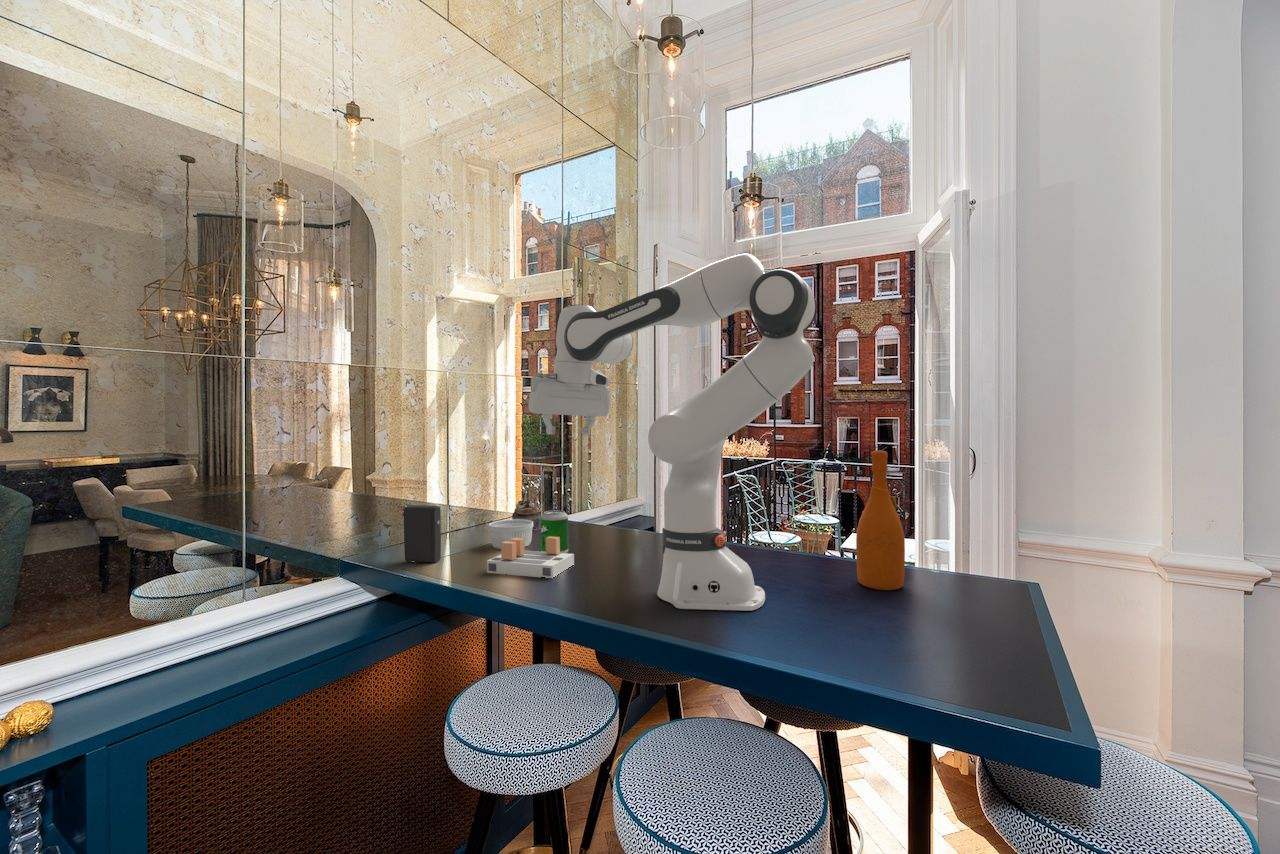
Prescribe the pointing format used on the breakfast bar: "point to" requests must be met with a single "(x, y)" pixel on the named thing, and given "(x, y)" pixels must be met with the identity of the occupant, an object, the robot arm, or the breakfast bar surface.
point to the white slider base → (532, 564)
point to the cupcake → (527, 513)
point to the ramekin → (510, 531)
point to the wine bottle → (880, 534)
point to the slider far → (552, 545)
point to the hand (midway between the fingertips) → (568, 434)
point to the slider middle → (519, 546)
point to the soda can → (554, 528)
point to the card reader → (422, 533)
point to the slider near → (508, 550)
